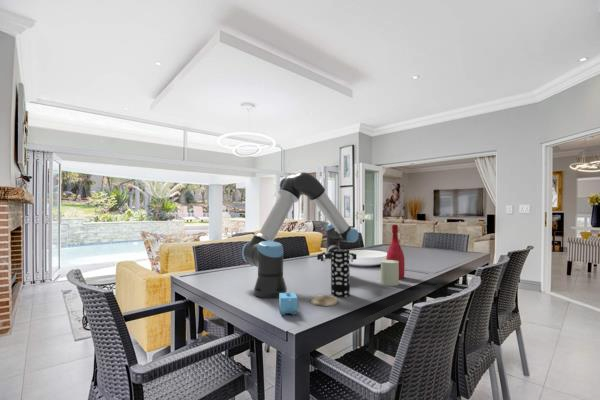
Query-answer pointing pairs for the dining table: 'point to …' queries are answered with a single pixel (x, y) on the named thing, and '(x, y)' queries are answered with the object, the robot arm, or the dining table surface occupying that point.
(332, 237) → the robot arm
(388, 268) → the can
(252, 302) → the dining table surface
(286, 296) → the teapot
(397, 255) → the wine bottle
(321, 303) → the birch coaster
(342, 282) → the white-spotted black cylinder
